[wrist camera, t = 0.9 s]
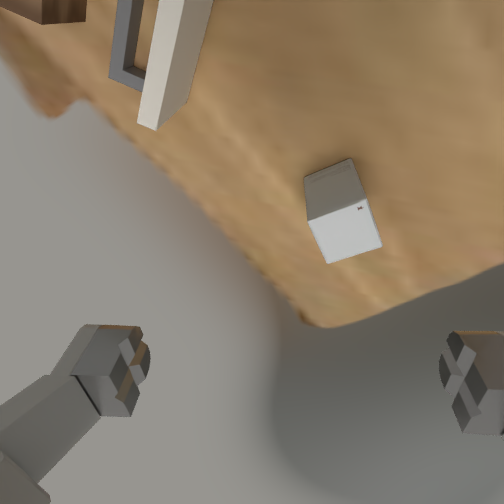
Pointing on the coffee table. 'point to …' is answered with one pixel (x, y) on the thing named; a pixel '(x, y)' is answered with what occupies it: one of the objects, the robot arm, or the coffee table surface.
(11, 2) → the walnut panel
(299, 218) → the coffee table surface
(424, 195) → the coffee table surface
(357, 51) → the coffee table surface
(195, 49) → the board
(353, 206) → the supplement box
